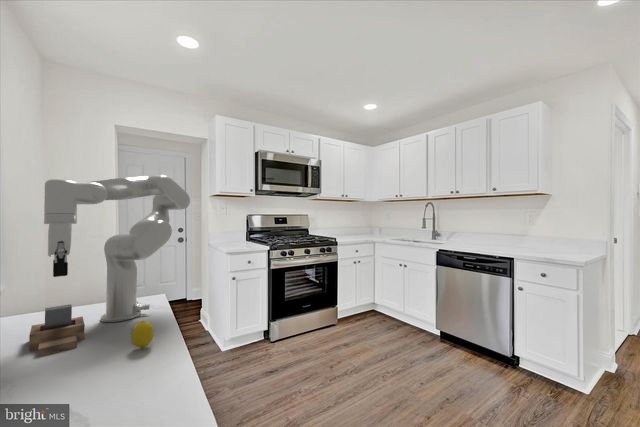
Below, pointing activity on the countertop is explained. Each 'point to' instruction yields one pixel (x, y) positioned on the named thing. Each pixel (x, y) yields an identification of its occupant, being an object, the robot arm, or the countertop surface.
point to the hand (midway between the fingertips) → (60, 273)
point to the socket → (56, 337)
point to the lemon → (142, 334)
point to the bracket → (58, 316)
